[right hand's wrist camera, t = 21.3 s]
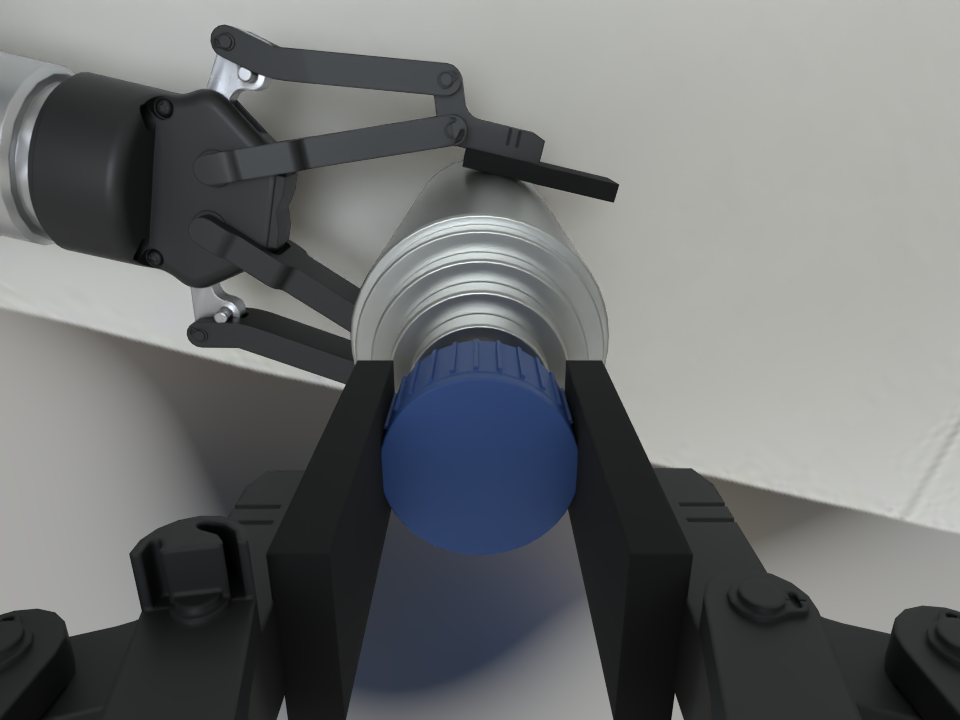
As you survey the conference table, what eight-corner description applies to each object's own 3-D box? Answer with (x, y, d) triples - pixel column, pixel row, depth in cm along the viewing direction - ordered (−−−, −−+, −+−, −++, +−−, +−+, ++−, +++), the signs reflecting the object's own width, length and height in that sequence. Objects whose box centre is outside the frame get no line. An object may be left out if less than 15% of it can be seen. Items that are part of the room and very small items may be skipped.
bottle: (391, 259, 37) (239, 526, 14) (447, 133, 35) (379, 197, 11) (509, 314, 38) (556, 650, 15) (571, 196, 36) (742, 372, 13)
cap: (365, 362, 14) (346, 404, 12) (546, 316, 14) (557, 351, 12) (419, 515, 15) (411, 576, 13) (586, 476, 15) (602, 532, 13)
